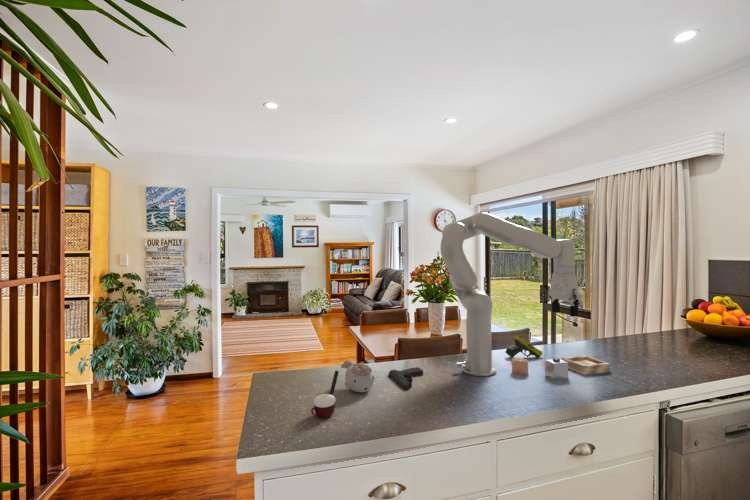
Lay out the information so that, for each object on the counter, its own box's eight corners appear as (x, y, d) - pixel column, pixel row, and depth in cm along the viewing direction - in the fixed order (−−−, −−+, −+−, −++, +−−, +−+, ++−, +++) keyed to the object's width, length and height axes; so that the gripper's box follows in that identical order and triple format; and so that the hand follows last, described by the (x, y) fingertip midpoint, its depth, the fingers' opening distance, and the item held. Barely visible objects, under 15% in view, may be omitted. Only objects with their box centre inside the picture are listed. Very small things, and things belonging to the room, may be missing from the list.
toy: (352, 398, 127) (351, 368, 127) (335, 384, 141) (334, 357, 141) (379, 393, 132) (379, 363, 132) (360, 380, 146) (360, 353, 146)
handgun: (417, 366, 155) (386, 370, 151) (438, 381, 138) (404, 385, 134) (417, 372, 155) (386, 376, 151) (438, 387, 138) (404, 392, 134)
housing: (554, 380, 142) (553, 361, 142) (545, 375, 147) (544, 357, 147) (568, 378, 143) (567, 359, 143) (558, 374, 148) (558, 356, 148)
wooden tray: (583, 374, 147) (583, 366, 147) (561, 365, 158) (561, 357, 158) (610, 371, 149) (610, 363, 149) (586, 363, 161) (586, 355, 161)
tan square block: (517, 376, 147) (517, 362, 147) (508, 371, 153) (508, 358, 153) (531, 374, 148) (531, 361, 148) (522, 370, 154) (522, 357, 154)
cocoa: (312, 423, 111) (310, 382, 110) (308, 413, 117) (306, 374, 116) (344, 416, 114) (342, 376, 113) (339, 407, 120) (337, 369, 119)
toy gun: (530, 371, 170) (544, 353, 170) (504, 352, 170) (518, 334, 170) (528, 369, 172) (541, 351, 172) (502, 351, 173) (516, 333, 172)
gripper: (541, 269, 160) (541, 311, 160) (572, 272, 143) (573, 318, 143) (556, 269, 162) (557, 310, 162) (589, 271, 145) (590, 317, 145)
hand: (564, 314), depth 153 cm, fingers open, 9 cm apart
